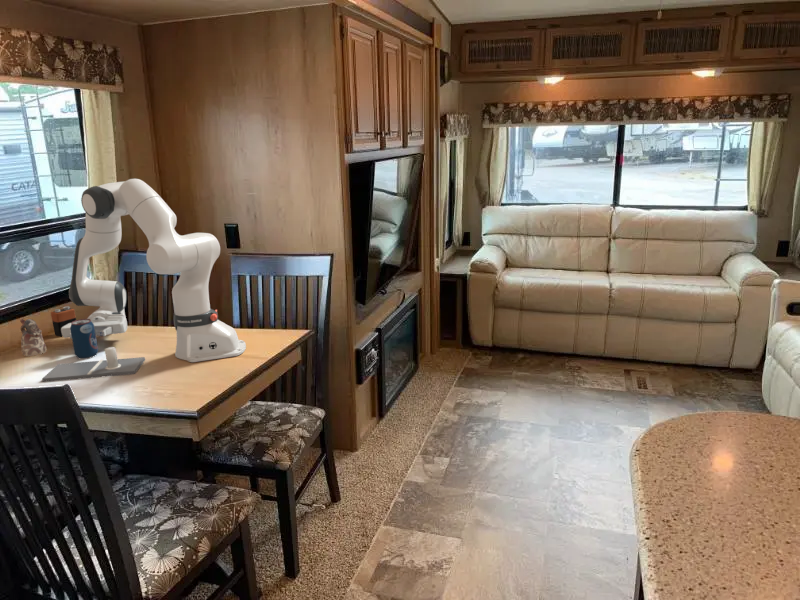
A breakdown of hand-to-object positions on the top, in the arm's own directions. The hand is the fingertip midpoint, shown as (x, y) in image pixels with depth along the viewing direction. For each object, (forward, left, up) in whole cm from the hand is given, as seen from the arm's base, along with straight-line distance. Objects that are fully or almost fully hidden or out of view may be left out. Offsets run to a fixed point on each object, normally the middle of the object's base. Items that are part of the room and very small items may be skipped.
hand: (87, 335), depth 196 cm
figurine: (+20, -5, -7) cm, 21 cm away
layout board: (-7, +18, -6) cm, 20 cm away
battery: (+17, -25, -7) cm, 31 cm away
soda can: (0, +3, -7) cm, 7 cm away
